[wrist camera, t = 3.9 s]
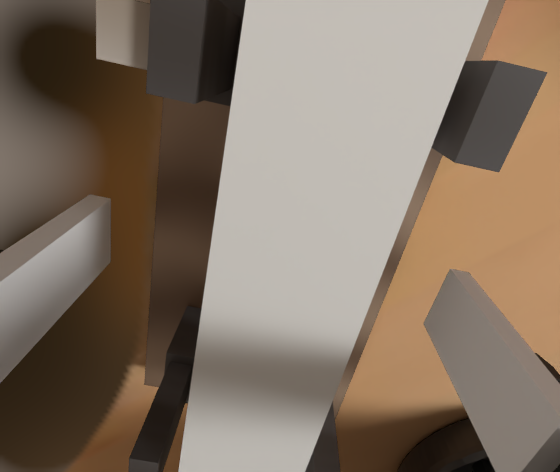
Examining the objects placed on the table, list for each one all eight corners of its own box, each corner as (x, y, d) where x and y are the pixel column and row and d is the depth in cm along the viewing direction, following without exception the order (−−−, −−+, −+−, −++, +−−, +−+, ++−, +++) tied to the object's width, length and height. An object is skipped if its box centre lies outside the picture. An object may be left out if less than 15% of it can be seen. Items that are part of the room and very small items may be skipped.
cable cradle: (332, 399, 24) (353, 583, 16) (153, 366, 24) (71, 539, 15) (500, -33, 14) (827, -184, 5) (190, -113, 13) (-1, -428, 5)
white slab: (276, 439, 19) (270, 560, 14) (199, 426, 18) (167, 544, 14) (422, -24, 10) (524, -94, 6) (281, -60, 10) (269, -163, 5)
